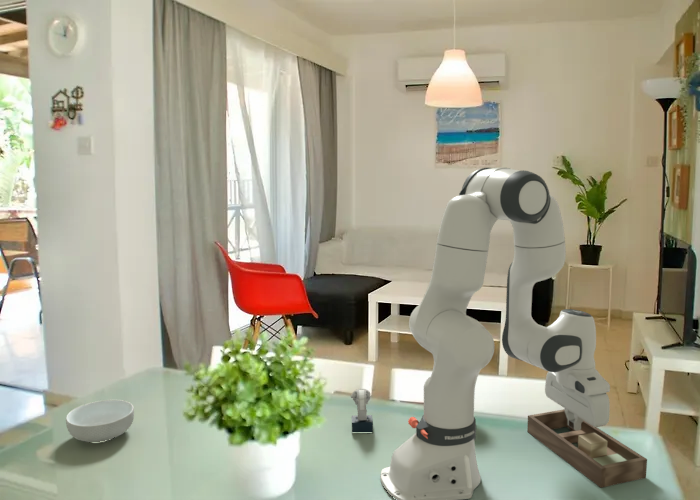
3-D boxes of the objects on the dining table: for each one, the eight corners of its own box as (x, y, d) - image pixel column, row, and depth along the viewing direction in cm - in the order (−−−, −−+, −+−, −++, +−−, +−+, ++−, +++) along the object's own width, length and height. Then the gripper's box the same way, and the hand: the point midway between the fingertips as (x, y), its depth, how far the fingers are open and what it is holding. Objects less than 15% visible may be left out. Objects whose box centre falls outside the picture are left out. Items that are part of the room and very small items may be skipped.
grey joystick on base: (371, 422, 167) (371, 384, 165) (373, 436, 159) (372, 396, 157) (351, 423, 167) (350, 384, 165) (351, 437, 159) (350, 397, 157)
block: (590, 458, 141) (591, 444, 141) (577, 449, 146) (578, 435, 145) (606, 454, 143) (607, 440, 142) (593, 446, 147) (594, 432, 146)
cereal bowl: (132, 447, 156) (130, 421, 155) (62, 456, 153) (59, 429, 151) (138, 419, 173) (136, 395, 172) (75, 426, 169) (72, 402, 168)
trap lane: (600, 487, 133) (601, 468, 132) (527, 431, 159) (527, 415, 158) (645, 477, 136) (647, 459, 135) (566, 424, 163) (567, 408, 162)
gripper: (539, 362, 157) (538, 412, 160) (592, 392, 138) (590, 449, 140) (560, 359, 159) (559, 409, 161) (615, 387, 140) (613, 444, 142)
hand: (574, 427), depth 151 cm, fingers closed
